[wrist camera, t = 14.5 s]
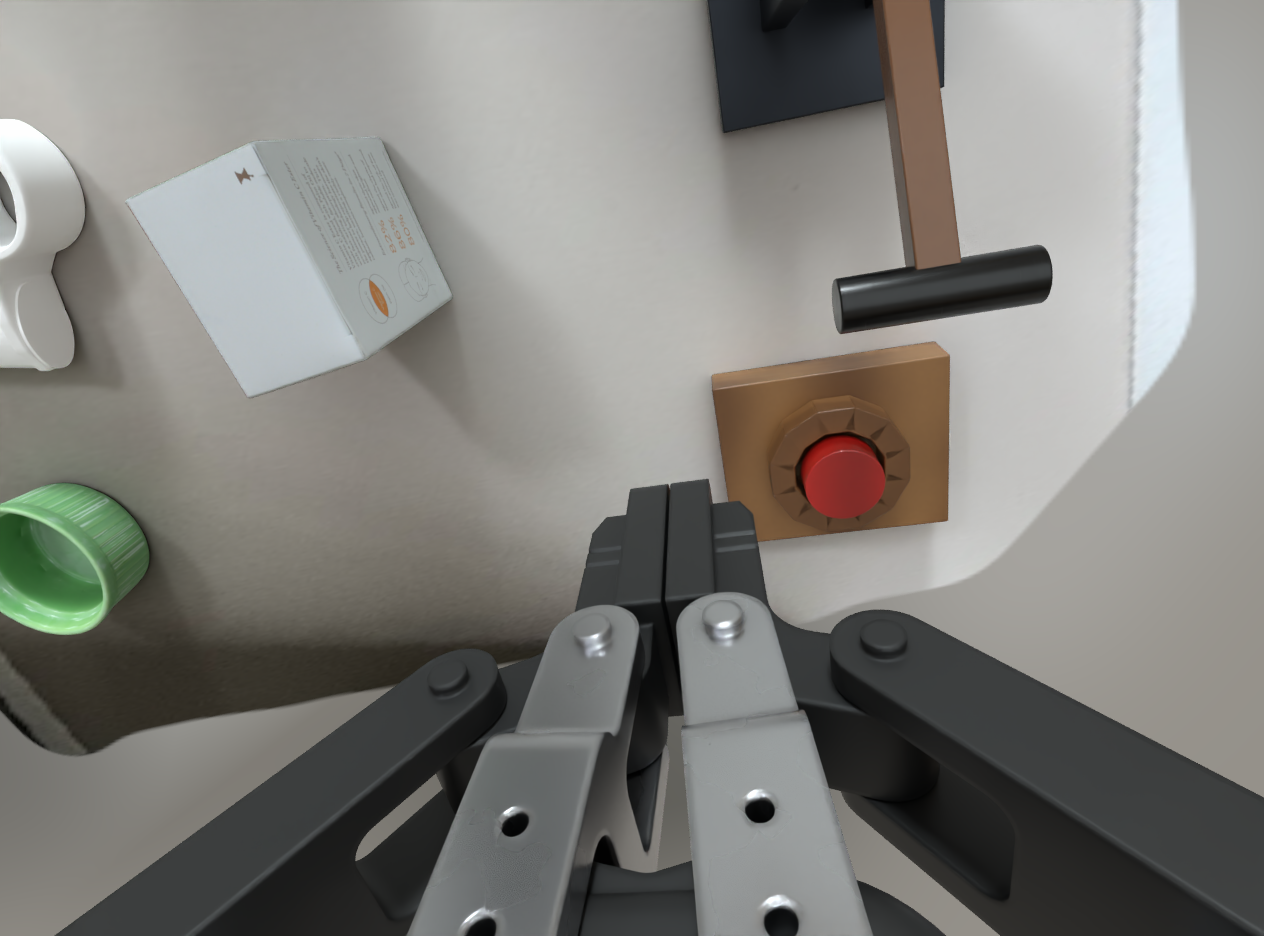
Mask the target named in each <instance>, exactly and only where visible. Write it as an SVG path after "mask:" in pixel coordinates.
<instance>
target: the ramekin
mask: <svg viewBox="0 0 1264 936" xmlns="http://www.w3.org/2000/svg"><path fill="white" fill-rule="evenodd" d="M148 565H149V549H148V544H147V541H146V538H145V536H144V534H143V532H142V530H141V528H140V527H139V525H138V524H137V522H136V521H135V520H134V519H133V517H132V516H131V515H130V514H129V513H128V512H127V511H126V510H125V509H124V508H123V507H122V506H121V505H119V504H118V503H117V502H115V501H114V500H113V499H111V498H109V497H108V496H106V495H104V494H102V493H100V492H98V491H96V490H94V489H91V488H88V487H85V486H82V485H77V484H71V483H56V484H49V485H45V486H42V487H39V488H37V489H35V490H32V491H30V492H28V493H26V494H23V495H21V496H19V497H16V498H14V499H12V500H9V501H7V502H5V503H2V504H0V612H2V613H3V614H5V615H6V616H8V617H9V618H11V619H13V620H15V621H17V622H19V623H21V624H23V625H25V626H27V627H30V628H32V629H36V630H38V631H42V632H46V633H51V634H59V635H73V634H80V633H84V632H87V631H89V630H91V629H93V628H95V627H96V626H97V625H99V624H100V623H101V622H102V621H103V620H104V619H105V618H106V617H107V615H108V614H109V613H110V611H111V609H112V608H113V607H114V606H115V605H116V604H117V603H118V602H119V601H120V600H121V599H122V598H123V597H124V596H125V595H126V594H127V593H128V592H129V591H130V590H131V589H132V588H133V587H134V586H135V585H136V584H137V583H138V582H139V581H140V580H141V579H142V577H143V576H144V574H145V572H146V571H147V568H148Z"/></svg>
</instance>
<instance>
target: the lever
mask: <svg viewBox="0 0 1264 936" xmlns="http://www.w3.org/2000/svg"><path fill="white" fill-rule="evenodd" d="M873 7H874V15H875V23H876V31H877V39H878V47H879V55H880V63H881V71H882V79H883V87H884V95H885V103H886V112H887V120H888V128H889V136H890V144H891V152H892V160H893V168H894V176H895V184H896V192H897V200H898V208H899V216H900V224H901V232H902V240H903V248H904V257H905V265H906V267H903V268H897V269H891V270H885V271H879V272H873V273H868V274H862V275H856V276H850V277H844V278H838V279H835V280H834V281H833V285H832V305H833V314H834V320H835V324H836V328H837V330H838V332H839V334H845V333H852V332H858V331H864V330H871V329H877V328H884V327H890V326H897V325H903V324H909V323H916V322H922V321H929V320H935V319H942V318H948V317H955V316H961V315H967V314H974V313H980V312H987V311H993V310H1000V309H1006V308H1012V307H1019V306H1025V305H1032V304H1038V303H1042V302H1043V301H1045V300H1046V299H1047V297H1048V295H1049V293H1050V290H1051V286H1052V264H1051V259H1050V256H1049V254H1048V252H1047V250H1046V249H1045V248H1044V247H1043V246H1041V245H1034V246H1028V247H1022V248H1016V249H1010V250H1004V251H998V252H992V253H986V254H980V255H974V256H968V257H962V258H961V255H960V247H959V238H958V230H957V222H956V214H955V206H954V198H953V189H952V181H951V173H950V165H949V157H948V148H947V140H946V132H945V124H944V116H943V108H942V99H941V91H940V83H939V75H938V67H937V58H936V50H935V42H934V34H933V26H932V18H931V9H930V1H929V0H873Z"/></svg>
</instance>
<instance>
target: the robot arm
mask: <svg viewBox="0 0 1264 936" xmlns="http://www.w3.org/2000/svg"><path fill="white" fill-rule="evenodd" d="M682 715H684V717H685V726H682V747H683V758H684V770H685V783H686V794H687V806H688V818H689V828H690V829H689V830H690V841H691V853H692V861H689V862H686V863H683V864H679V865H676V866H673V867H670V868H666V869H663V870H660V871H657V862H658V853H659V844H660V836H661V827H662V819H663V810H664V801H665V792H666V783H667V775H668V766H669V753H668V748H667V744H666V742H667V736H668V717H669V716H682ZM435 774H437V777H438V779H439V781H440V784H441V786H442V788H443V789H442V790H441V791H440V792H439V793H438V794H436V795H435V796H434V797H433V798H432V799H431V800H430V801H429V802H427V803H426V804H425V805H424V806H423V807H422V808H421V809H419V810H418V811H417V812H416V813H415V814H414V815H413V816H412V817H410V818H409V819H408V820H407V821H406V822H405V823H404V824H402V825H401V826H400V827H399V828H398V829H397V830H396V831H395V832H393V833H392V834H391V835H390V836H389V837H388V838H387V839H385V840H384V841H383V842H382V843H381V844H380V845H378V846H377V847H376V848H375V849H374V850H373V851H372V852H371V853H369V854H368V855H367V856H365V857H364V858H362V859H360V860H358V861H355V856H356V852H357V849H358V846H359V844H360V843H361V841H362V839H363V838H364V836H365V835H366V834H367V833H368V832H369V830H371V829H372V828H373V827H374V826H375V825H376V824H377V823H378V822H380V821H381V820H382V819H383V818H384V817H385V816H387V815H388V814H389V813H390V812H391V811H392V810H393V809H395V808H396V807H397V806H398V805H399V804H401V803H402V802H403V801H404V800H405V799H406V798H408V797H409V796H410V795H411V794H412V793H413V792H415V791H416V790H417V789H418V788H419V787H421V785H423V784H424V783H425V782H426V781H428V779H430V778H431V777H432V776H433V775H435ZM829 788H831V789H835V790H839V791H841V793H842V796H843V797H844V800H845V802H846V803H847V804H848V806H849V807H850V808H851V809H852V810H853V811H854V812H855V813H856V814H857V815H858V816H859V817H860V818H862V819H863V820H864V821H865V822H866V823H867V824H869V825H870V826H871V827H872V828H874V829H875V830H876V831H877V832H878V833H879V834H881V835H882V836H883V837H884V838H885V839H886V840H888V841H889V842H890V843H891V844H893V845H894V846H895V847H896V848H897V849H898V850H900V851H901V852H902V853H903V854H904V855H905V856H907V857H908V858H909V859H910V860H911V861H913V862H914V863H915V864H916V865H917V866H918V867H920V868H921V869H922V870H923V871H924V872H926V873H927V874H928V875H929V876H930V877H932V878H933V879H934V880H935V881H936V882H938V883H939V884H940V885H941V886H942V887H943V888H945V889H946V890H947V891H948V892H949V893H951V894H952V895H953V896H954V897H955V898H956V899H958V900H959V901H960V902H961V903H962V904H964V905H965V906H966V907H967V908H968V909H969V910H971V911H972V912H973V913H974V914H975V915H977V916H978V917H979V918H980V919H981V920H983V921H984V922H985V923H986V924H987V925H988V926H990V927H991V928H992V929H993V930H994V931H996V932H997V933H998V934H999V935H1000V936H1264V798H1263V797H1262V796H1260V795H1258V794H1256V793H1254V792H1252V791H1250V790H1248V789H1246V788H1244V787H1242V786H1240V785H1238V784H1236V783H1235V782H1233V781H1230V780H1229V779H1227V778H1225V777H1223V776H1221V775H1219V774H1217V773H1215V772H1213V771H1211V770H1209V769H1208V768H1205V767H1203V766H1202V765H1200V764H1198V763H1196V762H1194V761H1192V760H1190V759H1188V758H1186V757H1184V756H1182V755H1180V754H1178V753H1176V752H1175V751H1172V750H1171V749H1169V748H1166V747H1165V746H1163V745H1161V744H1159V743H1157V742H1155V741H1153V740H1151V739H1149V738H1147V737H1145V736H1144V735H1142V734H1140V733H1138V732H1136V731H1134V730H1132V729H1130V728H1128V727H1126V726H1124V725H1122V724H1120V723H1119V722H1117V721H1114V720H1113V719H1111V718H1109V717H1107V716H1105V715H1103V714H1101V713H1099V712H1097V711H1095V710H1093V709H1091V708H1089V707H1087V706H1086V705H1084V704H1082V703H1080V702H1078V701H1076V700H1074V699H1072V698H1070V697H1068V696H1066V695H1064V694H1062V693H1060V692H1059V691H1057V690H1055V689H1053V688H1051V687H1049V686H1047V685H1045V684H1043V683H1041V682H1039V681H1037V680H1035V679H1033V678H1031V677H1030V676H1028V675H1026V674H1024V673H1022V672H1020V671H1018V670H1016V669H1014V668H1012V667H1010V666H1008V665H1006V664H1004V663H1002V662H1000V661H998V660H997V659H995V658H993V657H991V656H989V655H987V654H985V653H983V652H981V651H979V650H977V649H975V648H973V647H971V646H969V645H968V644H966V643H964V642H962V641H960V640H958V639H956V638H954V637H952V636H950V635H948V634H946V633H944V632H942V631H940V630H939V629H937V628H935V627H933V626H931V625H929V624H927V623H925V622H923V621H921V620H919V619H917V618H915V617H913V616H910V615H908V614H905V613H901V612H897V611H891V610H868V611H862V612H858V613H855V614H853V615H850V616H848V617H846V618H844V619H843V620H841V621H840V622H839V623H838V624H837V625H836V626H835V627H834V629H833V630H832V632H831V634H828V633H820V632H813V631H808V630H804V629H800V628H797V627H795V626H792V625H790V624H788V623H786V622H785V621H783V620H781V619H780V618H779V617H778V616H777V615H776V614H775V613H774V612H773V611H772V610H771V608H770V606H769V604H768V600H767V595H766V589H765V583H764V577H763V571H762V565H761V559H760V553H759V547H758V541H757V535H756V528H755V522H754V516H753V513H752V512H751V511H750V510H749V509H747V508H746V507H745V506H744V505H743V504H742V503H741V502H740V501H733V502H725V503H717V504H713V502H712V496H711V489H710V484H709V479H702V480H695V481H687V482H679V483H672V484H671V485H670V488H669V485H668V484H665V485H657V486H650V487H642V488H635V489H631V490H630V493H629V500H628V506H627V513H626V515H622V516H614V517H607V518H606V519H605V520H604V521H603V522H602V523H601V524H600V526H599V527H598V528H597V529H596V530H595V531H594V533H593V534H592V538H591V543H590V547H589V554H588V556H587V560H586V568H585V569H584V574H583V578H582V583H581V587H580V591H579V596H578V600H577V605H576V609H575V612H574V613H572V614H571V615H569V616H567V617H566V618H565V619H563V620H562V621H561V622H560V623H559V624H558V625H557V626H556V627H555V629H554V630H553V631H552V633H551V635H550V638H549V640H548V643H547V646H546V649H545V651H544V652H543V653H541V654H539V655H537V656H535V657H532V658H530V659H527V660H524V661H521V662H518V663H515V664H512V665H509V666H507V667H504V668H501V669H498V667H497V664H496V661H495V659H494V658H493V657H492V656H491V655H490V654H489V653H487V652H485V651H482V650H478V649H460V650H455V651H452V652H448V653H445V654H443V655H441V656H438V657H437V658H435V659H433V660H431V661H430V662H428V663H427V664H425V665H424V666H422V667H421V668H420V669H418V670H417V671H416V672H414V673H413V674H411V675H410V676H409V677H407V678H406V679H405V680H403V681H402V682H400V683H399V684H398V685H396V686H395V687H394V688H392V689H391V690H390V691H388V692H387V693H386V694H384V695H383V696H381V697H380V698H379V699H377V700H376V701H375V702H373V703H372V704H370V705H369V706H368V707H366V708H365V709H364V710H362V711H361V712H359V713H358V714H357V715H355V716H354V717H353V718H351V719H350V720H349V721H347V722H346V723H344V724H343V725H342V726H340V727H339V728H338V729H336V730H335V731H334V732H332V733H331V734H329V735H328V736H327V737H326V738H324V739H323V740H321V741H320V742H319V743H317V744H316V745H314V746H313V747H312V748H310V749H309V750H308V751H306V752H305V753H303V754H302V755H301V756H299V757H298V758H297V759H296V760H294V761H293V762H291V763H290V764H288V765H287V766H286V767H284V768H283V769H282V770H280V771H279V772H278V773H276V774H275V775H273V776H272V777H271V778H269V779H268V780H267V781H265V782H264V783H262V784H261V785H260V786H258V787H257V788H256V789H254V790H253V791H252V792H250V793H249V794H247V795H246V796H245V797H243V798H242V799H241V800H239V801H238V802H236V803H235V804H234V805H233V806H231V807H230V808H228V809H227V810H226V811H224V812H223V813H221V814H220V815H219V816H217V817H216V818H215V819H213V820H212V821H211V822H209V823H208V824H206V825H205V826H204V827H202V828H201V829H200V830H198V831H197V832H196V833H194V834H193V835H192V836H190V837H189V838H187V839H186V840H185V841H183V842H182V843H180V844H179V845H178V846H177V847H175V848H174V849H172V850H171V851H170V852H168V853H167V854H165V855H164V856H163V857H161V858H160V859H159V860H157V861H156V862H155V863H153V864H152V865H150V866H149V867H148V868H146V869H145V870H144V871H142V872H141V873H139V874H138V875H137V876H135V877H134V878H133V879H131V880H130V881H129V882H127V883H126V884H125V885H123V886H122V887H120V888H119V889H118V890H116V891H115V892H114V893H112V894H111V895H109V896H108V897H107V898H105V899H104V900H103V901H101V902H100V903H99V904H97V905H96V906H94V907H93V908H92V909H90V910H89V911H88V912H86V913H85V914H83V915H82V916H81V917H79V918H78V919H77V920H75V921H74V922H73V923H71V924H70V925H68V926H67V927H66V928H64V929H63V930H62V931H60V932H59V933H58V934H56V935H55V936H946V935H945V934H943V933H942V932H941V931H940V930H939V929H938V928H937V927H936V926H935V925H933V924H932V923H931V922H929V921H928V920H927V919H926V918H924V917H923V916H922V915H920V914H919V913H918V912H916V911H915V910H914V909H912V908H911V907H909V906H908V905H906V904H904V903H903V902H901V901H899V900H898V899H896V898H894V897H893V896H891V895H890V894H888V893H885V892H883V891H881V890H879V889H877V888H875V887H873V886H871V885H869V884H866V883H864V882H861V881H858V880H856V877H855V874H854V870H853V867H852V864H851V860H850V857H849V854H848V850H847V848H846V844H845V841H844V837H843V834H842V831H841V827H840V824H839V820H838V817H837V814H836V810H835V807H834V804H833V801H832V797H831V794H830V790H829Z"/></svg>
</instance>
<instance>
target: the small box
mask: <svg viewBox="0 0 1264 936" xmlns="http://www.w3.org/2000/svg"><path fill="white" fill-rule="evenodd" d="M126 204H127V205H128V207H129V208H130V210H131V212H132V213H133V215H134V216H135V218H136V219H137V221H138V223H139V224H140V226H141V227H142V229H143V231H144V232H145V234H146V235H147V237H148V239H149V240H150V242H151V243H152V245H153V247H154V248H155V250H156V252H157V253H158V255H159V256H160V258H161V259H162V261H163V262H164V264H165V266H166V267H167V269H168V271H169V272H170V274H171V275H172V277H173V279H174V280H175V282H176V283H177V285H178V287H179V288H180V290H181V291H182V293H183V294H184V296H185V298H186V299H187V301H188V302H189V304H190V306H191V307H192V309H193V311H194V312H195V314H196V315H197V317H198V319H199V320H200V322H201V323H202V325H203V327H204V328H205V330H206V331H207V333H208V335H209V336H210V338H211V339H212V341H213V343H214V344H215V346H216V348H217V349H218V351H219V352H220V354H221V356H222V357H223V359H224V360H225V362H226V364H227V365H228V367H229V368H230V370H231V372H232V373H233V375H234V376H235V378H236V380H237V381H238V383H239V385H240V386H241V388H242V390H243V391H244V393H245V395H246V396H247V397H248V398H254V397H257V396H260V395H263V394H266V393H269V392H272V391H275V390H278V389H281V388H284V387H287V386H290V385H293V384H296V383H299V382H302V381H305V380H308V379H311V378H314V377H317V376H320V375H323V374H326V373H329V372H332V371H335V370H338V369H341V368H344V367H347V366H350V365H353V364H356V363H359V362H362V361H365V360H367V359H368V358H370V357H371V356H373V355H374V354H375V353H377V352H378V351H379V350H381V349H382V348H384V347H385V346H386V345H388V344H389V343H391V342H392V341H393V340H395V339H396V338H398V337H399V336H400V335H402V334H403V333H405V332H406V331H408V330H409V329H411V328H412V327H413V326H415V325H416V324H418V323H419V322H420V321H422V320H423V319H425V318H426V317H427V316H429V315H430V314H432V313H433V312H434V311H436V310H437V309H438V308H440V307H441V306H443V305H444V304H445V303H447V302H448V301H450V300H451V299H452V298H453V296H452V293H451V291H450V289H449V287H448V285H447V283H446V281H445V279H444V276H443V274H442V272H441V270H440V267H439V265H438V263H437V261H436V259H435V257H434V254H433V252H432V250H431V248H430V246H429V244H428V241H427V239H426V237H425V235H424V233H423V231H422V228H421V226H420V224H419V222H418V220H417V217H416V215H415V213H414V211H413V209H412V206H411V204H410V202H409V200H408V198H407V196H406V193H405V191H404V189H403V187H402V185H401V183H400V180H399V178H398V176H397V174H396V172H395V170H394V167H393V165H392V163H391V161H390V159H389V156H388V154H387V152H386V150H385V147H384V145H383V143H382V141H381V139H380V138H379V137H360V138H338V139H303V140H271V141H253V142H250V143H248V144H246V145H243V146H241V147H239V148H237V149H235V150H233V151H230V152H228V153H226V154H224V155H222V156H220V157H217V158H215V159H213V160H211V161H209V162H207V163H205V164H202V165H200V166H198V167H196V168H194V169H192V170H189V171H187V172H185V173H183V174H181V175H178V176H176V177H174V178H172V179H170V180H167V181H165V182H163V183H161V184H159V185H156V186H154V187H152V188H150V189H148V190H146V191H143V192H141V193H139V194H137V195H135V196H132V197H130V198H128V199H127V200H126Z"/></svg>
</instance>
